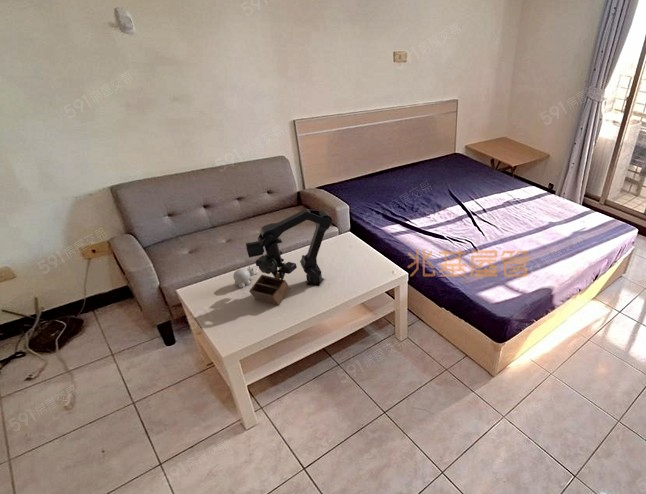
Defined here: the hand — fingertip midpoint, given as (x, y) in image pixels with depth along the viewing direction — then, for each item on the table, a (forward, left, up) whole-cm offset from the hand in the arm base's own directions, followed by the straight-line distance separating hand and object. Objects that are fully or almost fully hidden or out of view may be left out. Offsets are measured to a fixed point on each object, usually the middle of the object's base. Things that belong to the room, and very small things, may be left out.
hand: (279, 278), depth 199 cm
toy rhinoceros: (+19, -3, -7) cm, 21 cm away
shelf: (+1, +4, -4) cm, 6 cm away
